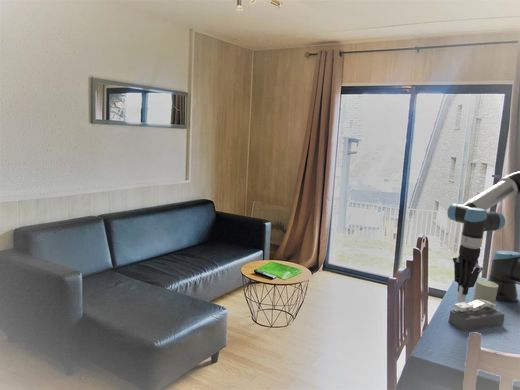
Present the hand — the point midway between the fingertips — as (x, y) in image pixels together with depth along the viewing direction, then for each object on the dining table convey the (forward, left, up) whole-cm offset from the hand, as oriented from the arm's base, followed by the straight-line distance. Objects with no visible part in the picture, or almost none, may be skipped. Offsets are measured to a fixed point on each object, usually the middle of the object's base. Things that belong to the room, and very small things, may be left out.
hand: (461, 300), depth 171 cm
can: (-28, -11, -11) cm, 32 cm away
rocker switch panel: (-9, +2, -10) cm, 14 cm away
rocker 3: (-16, 0, -3) cm, 16 cm away
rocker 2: (-9, 0, -3) cm, 9 cm away
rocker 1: (-2, 0, -3) cm, 3 cm away
